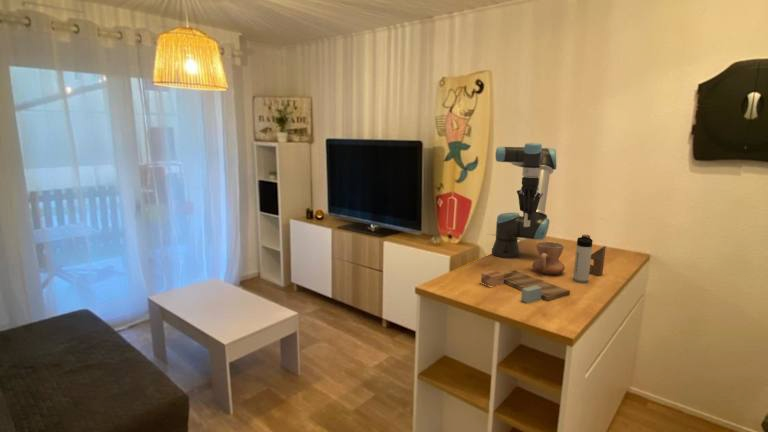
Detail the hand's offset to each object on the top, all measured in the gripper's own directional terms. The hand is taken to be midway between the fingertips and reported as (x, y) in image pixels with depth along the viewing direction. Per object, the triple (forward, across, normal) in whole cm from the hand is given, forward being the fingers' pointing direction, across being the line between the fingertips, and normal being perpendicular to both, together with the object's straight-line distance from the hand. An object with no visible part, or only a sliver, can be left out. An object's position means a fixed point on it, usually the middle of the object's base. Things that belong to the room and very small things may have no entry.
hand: (526, 226), depth 193 cm
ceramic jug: (+23, +6, +10) cm, 26 cm away
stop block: (+23, +24, -26) cm, 42 cm away
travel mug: (+23, +22, +13) cm, 34 cm away
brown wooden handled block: (+23, +3, -21) cm, 31 cm away
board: (+23, +14, -13) cm, 30 cm away
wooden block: (+23, +17, +28) cm, 40 cm away
